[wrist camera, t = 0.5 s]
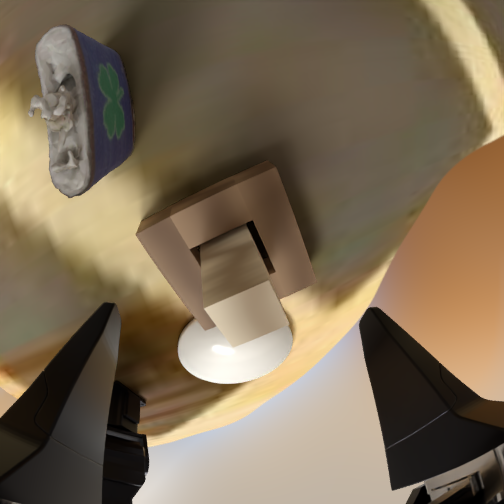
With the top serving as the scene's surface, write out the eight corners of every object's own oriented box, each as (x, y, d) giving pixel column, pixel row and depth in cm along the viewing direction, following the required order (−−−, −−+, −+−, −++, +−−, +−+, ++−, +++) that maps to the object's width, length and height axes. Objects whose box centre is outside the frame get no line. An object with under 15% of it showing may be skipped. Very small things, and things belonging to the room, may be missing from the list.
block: (220, 272, 25) (233, 347, 18) (199, 237, 23) (203, 308, 15) (260, 254, 25) (289, 324, 17) (243, 216, 23) (268, 280, 15)
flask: (91, 55, 14) (13, 29, 5) (127, 44, 14) (69, 0, 5) (107, 165, 19) (42, 221, 10) (142, 157, 19) (96, 206, 10)
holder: (203, 313, 27) (205, 330, 25) (141, 221, 21) (135, 234, 19) (307, 267, 27) (317, 282, 25) (267, 160, 21) (275, 167, 19)
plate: (212, 388, 34) (212, 393, 34) (155, 332, 27) (154, 337, 27) (302, 354, 34) (304, 359, 33) (268, 284, 27) (270, 289, 26)
